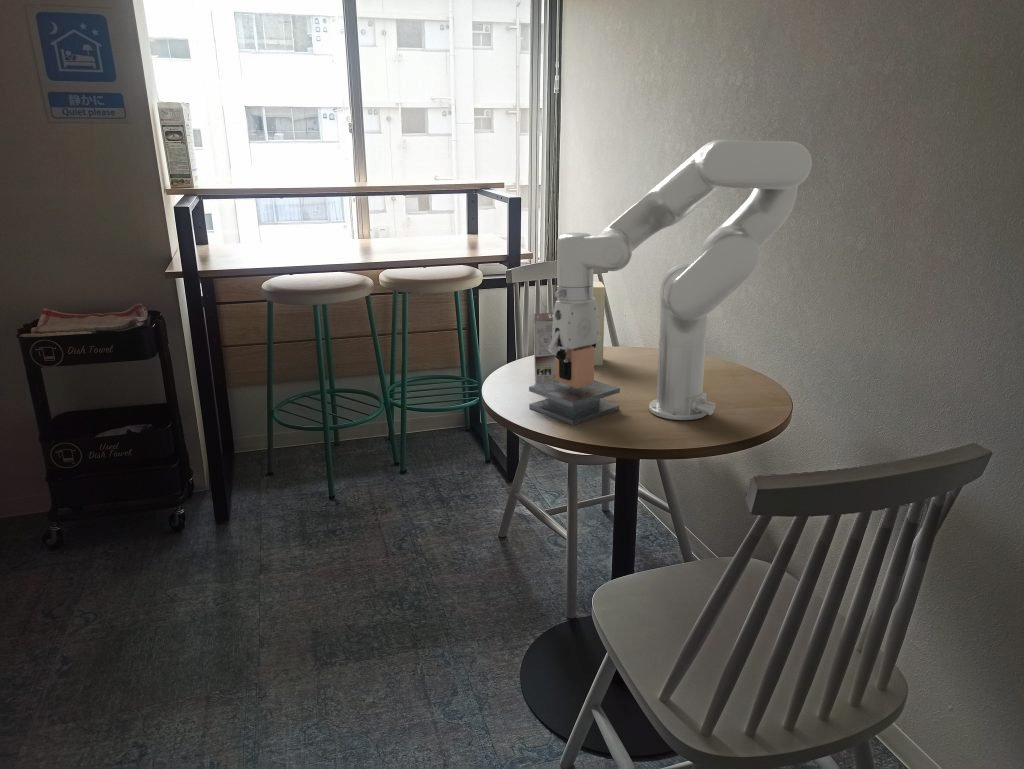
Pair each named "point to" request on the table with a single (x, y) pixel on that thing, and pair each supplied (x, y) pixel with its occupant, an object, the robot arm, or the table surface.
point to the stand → (574, 401)
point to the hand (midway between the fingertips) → (574, 375)
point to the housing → (579, 367)
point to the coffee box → (543, 348)
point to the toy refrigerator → (600, 300)
